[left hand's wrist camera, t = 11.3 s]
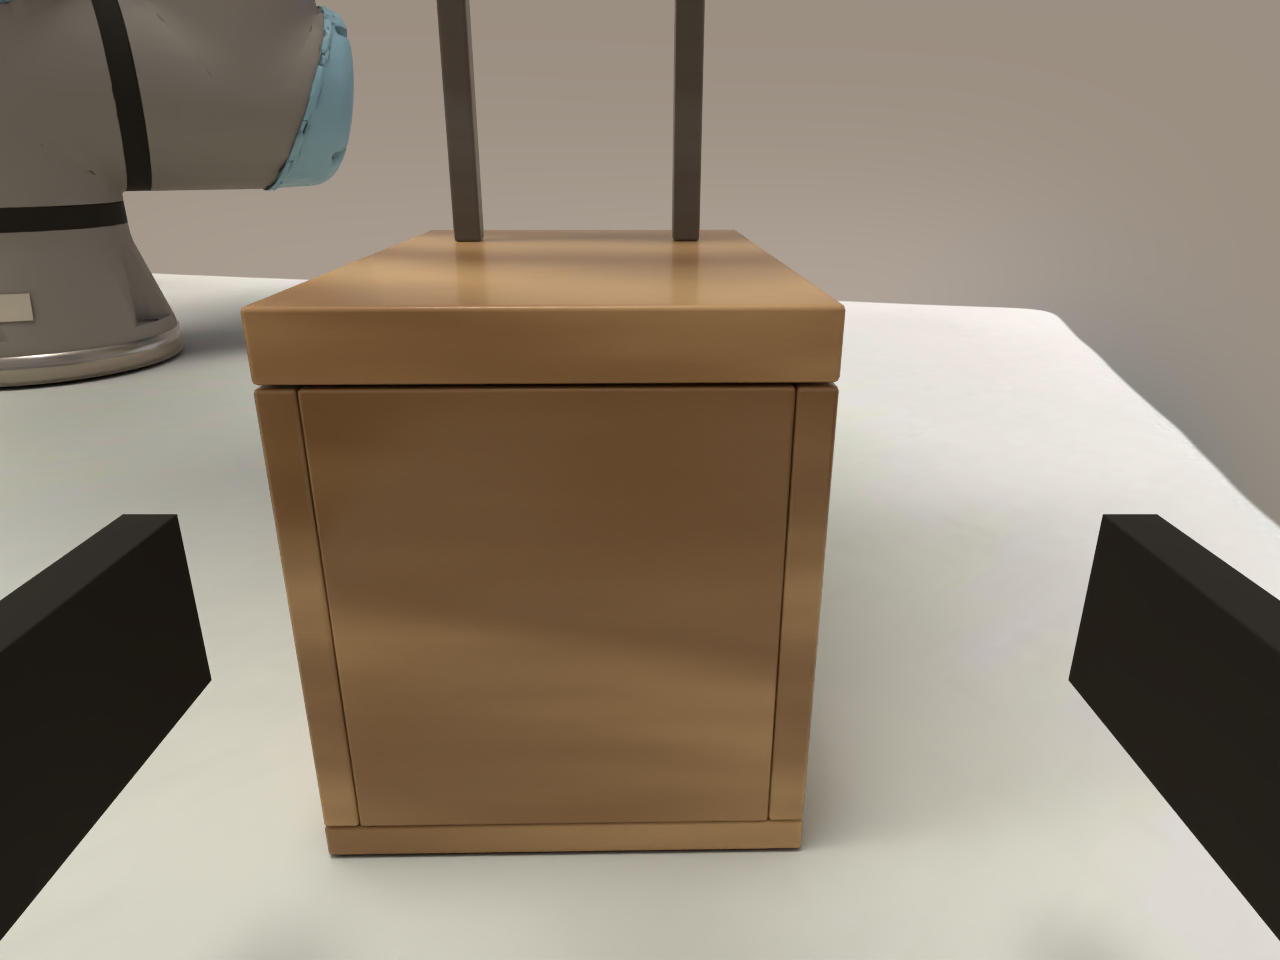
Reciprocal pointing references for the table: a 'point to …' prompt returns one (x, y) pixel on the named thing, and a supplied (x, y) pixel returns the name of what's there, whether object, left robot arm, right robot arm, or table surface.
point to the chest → (554, 609)
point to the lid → (553, 284)
